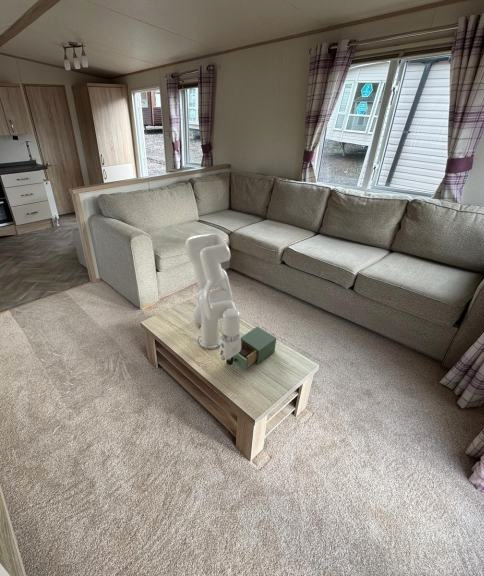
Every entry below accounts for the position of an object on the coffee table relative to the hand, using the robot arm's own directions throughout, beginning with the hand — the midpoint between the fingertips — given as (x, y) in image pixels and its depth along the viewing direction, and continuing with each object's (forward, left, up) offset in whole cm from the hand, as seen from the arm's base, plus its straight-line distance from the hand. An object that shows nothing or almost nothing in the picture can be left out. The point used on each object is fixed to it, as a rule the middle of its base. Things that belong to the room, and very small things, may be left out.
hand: (229, 363), depth 144 cm
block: (0, +11, -3) cm, 11 cm away
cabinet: (0, +21, -5) cm, 21 cm away
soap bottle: (-37, +18, -5) cm, 41 cm away
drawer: (0, +10, -4) cm, 11 cm away
